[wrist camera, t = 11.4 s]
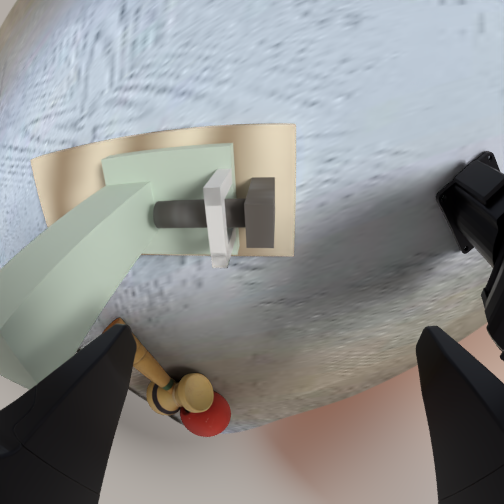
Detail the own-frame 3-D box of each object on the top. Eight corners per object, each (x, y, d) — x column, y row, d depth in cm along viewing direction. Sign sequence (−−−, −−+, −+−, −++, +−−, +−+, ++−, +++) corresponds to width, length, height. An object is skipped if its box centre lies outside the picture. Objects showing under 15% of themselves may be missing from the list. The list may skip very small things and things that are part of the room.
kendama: (102, 325, 30) (200, 417, 34) (78, 356, 24) (193, 453, 28) (144, 293, 29) (246, 399, 33) (120, 325, 23) (244, 437, 27)
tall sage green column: (233, 142, 16) (108, 300, 4) (239, 245, 20) (191, 455, 8) (110, 155, 17) (-63, 272, 5) (129, 245, 21) (22, 399, 9)
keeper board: (295, 123, 17) (302, 135, 12) (293, 249, 21) (296, 298, 16) (37, 156, 19) (-8, 179, 14) (62, 247, 23) (28, 282, 18)
